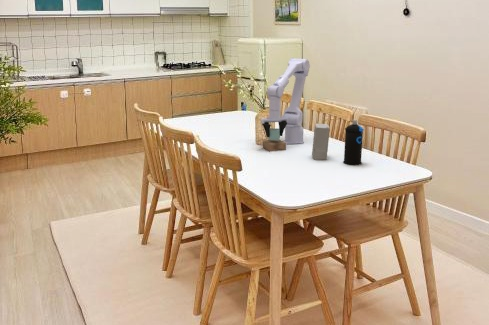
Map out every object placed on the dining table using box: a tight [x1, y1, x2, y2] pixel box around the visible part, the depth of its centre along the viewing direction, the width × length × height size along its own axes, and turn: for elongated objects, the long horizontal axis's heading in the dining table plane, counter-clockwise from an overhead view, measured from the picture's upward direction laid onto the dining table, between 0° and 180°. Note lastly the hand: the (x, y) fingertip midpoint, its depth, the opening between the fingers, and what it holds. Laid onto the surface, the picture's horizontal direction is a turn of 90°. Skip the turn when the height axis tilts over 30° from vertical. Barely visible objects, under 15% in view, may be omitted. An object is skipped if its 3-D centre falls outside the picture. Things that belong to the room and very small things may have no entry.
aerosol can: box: [342, 119, 365, 166], centre depth 238 cm, size 8×8×20 cm
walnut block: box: [262, 138, 287, 153], centre depth 266 cm, size 9×9×4 cm
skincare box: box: [311, 123, 331, 161], centre depth 247 cm, size 8×7×16 cm
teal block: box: [268, 127, 281, 141], centre depth 264 cm, size 5×5×5 cm
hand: (274, 136), depth 265 cm, fingers closed on teal block, 7 cm apart
